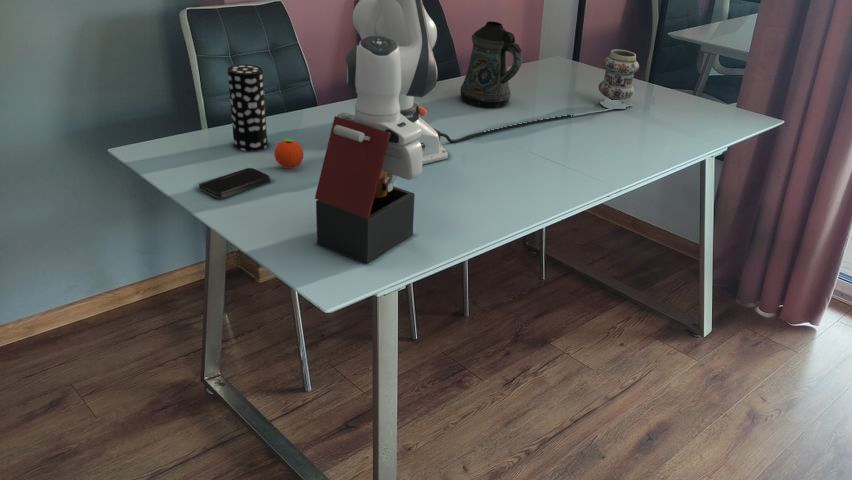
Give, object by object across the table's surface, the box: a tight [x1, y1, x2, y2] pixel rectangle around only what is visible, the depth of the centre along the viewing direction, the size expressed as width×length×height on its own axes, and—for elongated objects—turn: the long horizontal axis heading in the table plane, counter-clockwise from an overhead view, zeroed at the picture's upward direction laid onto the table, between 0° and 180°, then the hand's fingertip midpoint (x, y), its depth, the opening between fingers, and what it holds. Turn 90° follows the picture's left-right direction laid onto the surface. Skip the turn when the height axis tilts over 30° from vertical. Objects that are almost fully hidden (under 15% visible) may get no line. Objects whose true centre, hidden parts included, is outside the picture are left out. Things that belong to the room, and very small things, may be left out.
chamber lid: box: [314, 115, 391, 218], centre depth 146 cm, size 17×13×5 cm
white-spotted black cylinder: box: [227, 63, 268, 152], centre depth 193 cm, size 8×8×20 cm
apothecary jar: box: [598, 48, 640, 101], centre depth 254 cm, size 12×12×18 cm
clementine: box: [274, 138, 304, 169], centre depth 187 cm, size 8×7×7 cm
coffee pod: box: [374, 171, 388, 198], centre depth 158 cm, size 5×5×4 cm
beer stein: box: [460, 21, 523, 109], centre depth 243 cm, size 16×19×25 cm
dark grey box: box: [315, 185, 416, 265], centre depth 158 cm, size 16×13×10 cm
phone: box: [198, 167, 271, 200], centre depth 177 cm, size 8×1×15 cm
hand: (376, 186), depth 158 cm, fingers closed on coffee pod, 4 cm apart
